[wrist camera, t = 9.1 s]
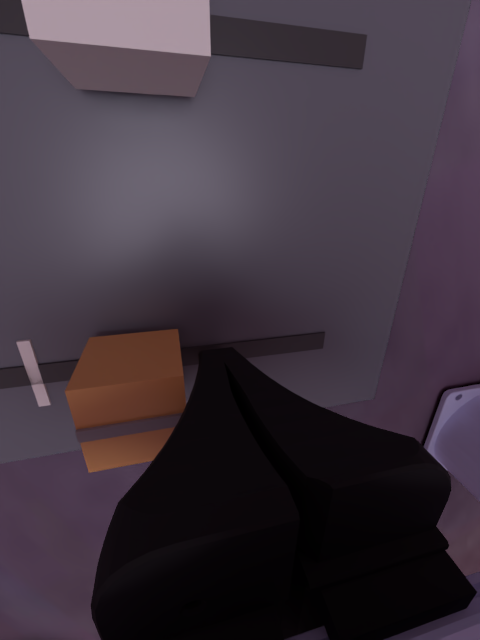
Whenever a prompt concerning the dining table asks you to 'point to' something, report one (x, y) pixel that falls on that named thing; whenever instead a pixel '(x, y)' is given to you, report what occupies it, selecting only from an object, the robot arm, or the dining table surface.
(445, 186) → the dining table surface
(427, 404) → the dining table surface
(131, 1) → the block
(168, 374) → the fader orange
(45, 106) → the mixer board
